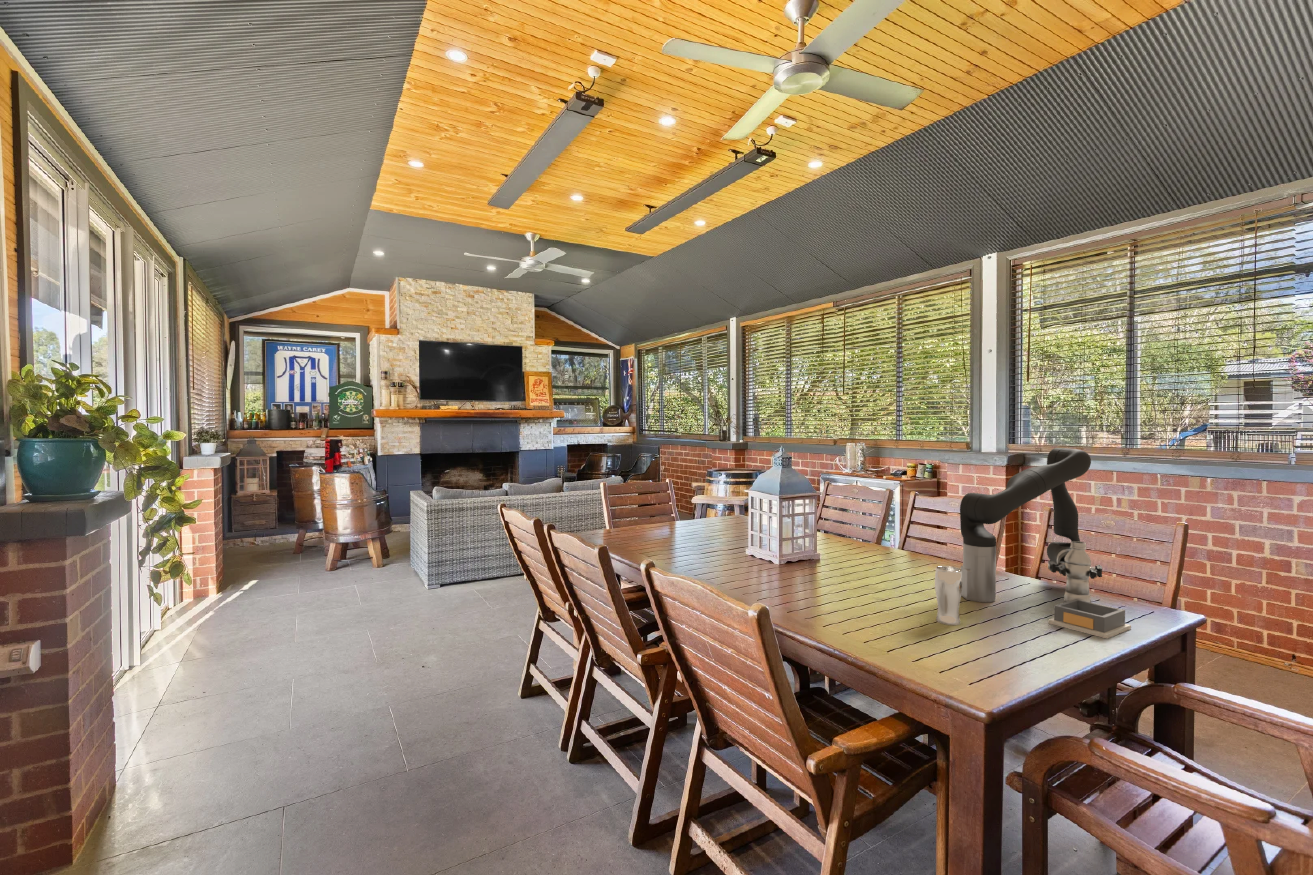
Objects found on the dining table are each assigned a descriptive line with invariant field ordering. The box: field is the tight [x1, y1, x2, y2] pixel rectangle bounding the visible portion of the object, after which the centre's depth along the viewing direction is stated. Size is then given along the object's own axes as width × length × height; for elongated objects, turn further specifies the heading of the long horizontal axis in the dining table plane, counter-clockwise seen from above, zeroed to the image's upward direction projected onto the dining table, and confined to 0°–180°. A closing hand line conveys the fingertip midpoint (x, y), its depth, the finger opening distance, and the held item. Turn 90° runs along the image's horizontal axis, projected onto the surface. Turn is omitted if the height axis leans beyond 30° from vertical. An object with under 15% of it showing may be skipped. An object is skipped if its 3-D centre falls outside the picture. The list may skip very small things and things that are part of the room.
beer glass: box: [934, 565, 963, 626], centre depth 167 cm, size 7×7×15 cm
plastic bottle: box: [1063, 540, 1092, 603], centre depth 179 cm, size 6×7×20 cm
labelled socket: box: [1048, 599, 1132, 639], centre depth 164 cm, size 14×14×5 cm
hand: (1078, 573), depth 177 cm, fingers closed on plastic bottle, 6 cm apart
